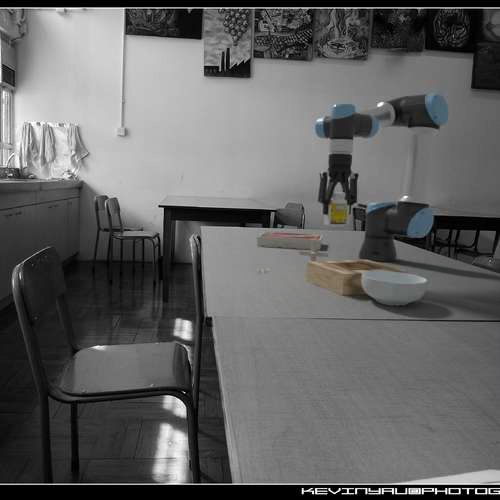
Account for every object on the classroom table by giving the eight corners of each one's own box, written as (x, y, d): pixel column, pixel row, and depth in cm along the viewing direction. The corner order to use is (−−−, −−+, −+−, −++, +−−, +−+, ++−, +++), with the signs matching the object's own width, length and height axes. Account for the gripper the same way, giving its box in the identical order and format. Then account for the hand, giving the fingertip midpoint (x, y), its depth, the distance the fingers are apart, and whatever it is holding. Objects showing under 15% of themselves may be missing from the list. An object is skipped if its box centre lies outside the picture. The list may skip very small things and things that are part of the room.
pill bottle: (324, 224, 173) (326, 191, 171) (342, 225, 173) (344, 192, 171) (329, 226, 166) (331, 192, 165) (347, 227, 167) (350, 193, 165)
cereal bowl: (415, 314, 125) (418, 286, 124) (350, 303, 134) (352, 276, 133) (431, 301, 140) (434, 275, 139) (372, 292, 148) (374, 267, 147)
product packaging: (264, 241, 255) (265, 231, 254) (321, 245, 250) (322, 235, 249) (257, 247, 234) (257, 236, 233) (319, 251, 229) (320, 240, 228)
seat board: (365, 277, 169) (366, 259, 168) (405, 291, 151) (407, 270, 150) (306, 280, 160) (307, 261, 159) (342, 295, 142) (343, 273, 141)
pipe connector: (326, 271, 178) (328, 242, 177) (297, 268, 180) (299, 240, 179) (327, 266, 188) (329, 239, 186) (300, 264, 190) (302, 237, 188)
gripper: (358, 155, 174) (353, 223, 177) (308, 152, 166) (305, 223, 169) (372, 154, 167) (367, 225, 170) (320, 151, 159) (316, 226, 163)
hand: (336, 224), depth 170 cm, fingers closed on pill bottle, 6 cm apart
